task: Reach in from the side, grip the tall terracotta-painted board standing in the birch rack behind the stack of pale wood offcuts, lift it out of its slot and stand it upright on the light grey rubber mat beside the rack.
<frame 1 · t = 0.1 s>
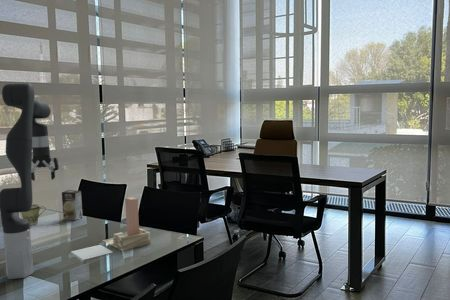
hand: (43, 179, 205), 29 cm above the table, tool pointing down, fingers open, 8 cm apart
mat: (92, 255, 183), on the table
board: (133, 241, 195), point 1 cm above the table, touching rack
ceramic cup: (34, 224, 240), on the table
coffee box: (73, 219, 248), on the table
rack: (126, 244, 196), on the table
offcut stack: (121, 244, 192), point 1 cm above the table, touching rack
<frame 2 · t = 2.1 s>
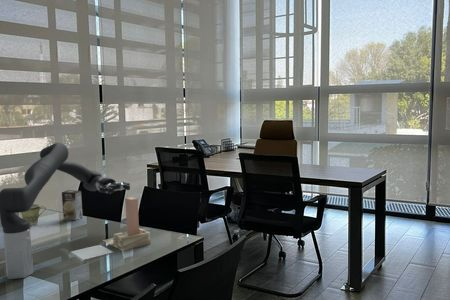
hand: (120, 189, 201), 24 cm above the table, tool horizontal, fingers open, 8 cm apart
nothing on the table moved.
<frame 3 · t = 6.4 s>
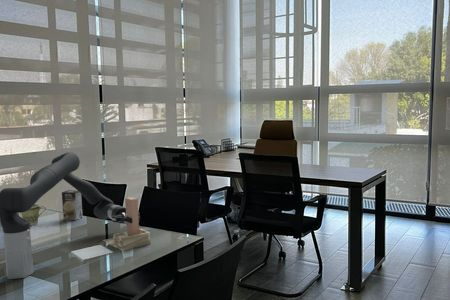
hand: (135, 220, 192), 12 cm above the table, tool horizontal, fingers closed on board, 3 cm apart
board: (133, 241, 195), point 2 cm above the table, touching gripper, rack
everything else where it was.
when the fingers open (16 cm above the table, at t = 11.0 s): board stays where it is, resting on mat.
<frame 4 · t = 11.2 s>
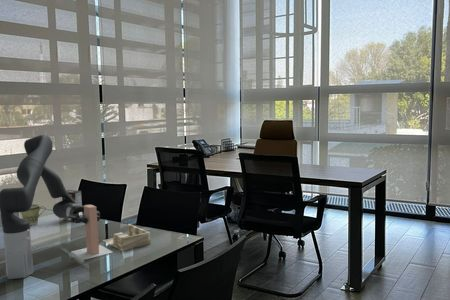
hand: (92, 220, 180), 16 cm above the table, tool horizontal, fingers open, 4 cm apart
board: (92, 252, 182), point 2 cm above the table, touching mat
everything else where it was.
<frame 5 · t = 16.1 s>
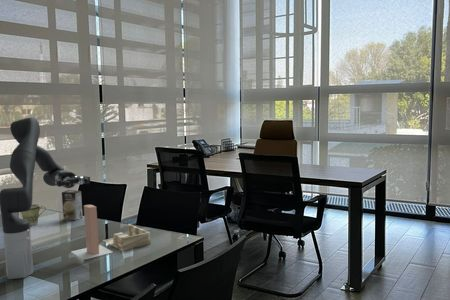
hand: (78, 182, 188), 30 cm above the table, tool horizontal, fingers open, 8 cm apart
nothing on the table moved.
at the end: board inside the target area on the mat (1.1 cm from its centre), point 1.5 cm above the mat's base; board tilted 0°; offcut stack moved 0.0 cm from its start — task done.
